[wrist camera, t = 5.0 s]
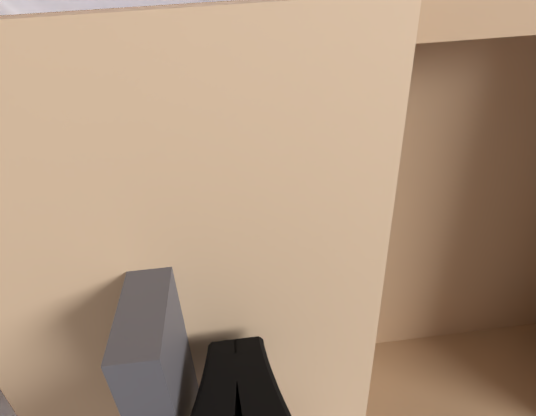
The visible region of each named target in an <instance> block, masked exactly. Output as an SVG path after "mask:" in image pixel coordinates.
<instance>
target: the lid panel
mask: <svg viewBox="0 0 536 416" xmlns="http://www.w3.org/2000/svg"><path fill="white" fill-rule="evenodd" d="M420 8H421V0H233V1H218V2H202V3H187V4H171V5H156V6H140V7H125V8H109V9H94V10H78V11H63V12H47V13H32V14H16V15H1V16H0V390H1V391H2V393H3V394H4V396H5V398H6V399H7V401H8V402H9V404H10V405H11V407H12V408H13V410H14V412H15V413H16V415H17V416H190V415H191V412H192V409H193V406H194V403H195V400H196V396H197V393H198V389H199V386H200V382H201V378H202V374H203V370H204V366H205V361H206V356H207V349H208V345H209V344H210V343H211V342H215V341H223V340H231V339H240V338H248V337H256V336H259V337H261V338H262V339H263V341H264V346H265V350H266V353H267V357H268V360H269V363H270V366H271V369H272V372H273V374H274V377H275V379H276V382H277V385H278V387H279V389H280V392H281V394H282V396H283V399H284V401H285V403H286V405H287V407H288V409H289V411H290V414H291V416H366V410H367V403H368V395H369V388H370V380H371V373H372V366H373V358H374V351H375V343H376V336H377V328H378V321H379V313H380V306H381V298H382V291H383V284H384V276H385V269H386V261H387V254H388V246H389V239H390V231H391V224H392V216H393V209H394V202H395V194H396V187H397V179H398V172H399V164H400V157H401V149H402V142H403V134H404V127H405V120H406V112H407V105H408V97H409V90H410V82H411V75H412V67H413V60H414V52H415V45H416V38H417V30H418V23H419V15H420Z"/></svg>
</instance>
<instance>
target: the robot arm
mask: <svg viewBox="0 0 536 416" xmlns="http://www.w3.org/2000/svg"><path fill="white" fill-rule="evenodd" d="M190 416H291V414H290V411H289V409H288V407H287V405H286V403H285V401H284V399H283V396H282V394H281V392H280V389H279V387H278V385H277V382H276V379H275V377H274V374H273V372H272V369H271V366H270V363H269V360H268V357H267V353H266V350H265V346H264V341H263V339H262V338H261V337H259V336H256V337H248V338H240V339H231V340H223V341H215V342H211V343H210V344H209V345H208V349H207V356H206V361H205V366H204V370H203V374H202V378H201V382H200V386H199V389H198V393H197V396H196V400H195V403H194V406H193V409H192V412H191V415H190Z"/></svg>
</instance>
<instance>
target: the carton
mask: <svg viewBox="0 0 536 416" xmlns="http://www.w3.org/2000/svg"><path fill="white" fill-rule="evenodd" d="M366 416H536V0H421V8H420V15H419V23H418V30H417V38H416V45H415V52H414V60H413V67H412V75H411V82H410V90H409V97H408V105H407V112H406V120H405V127H404V134H403V142H402V149H401V157H400V164H399V172H398V179H397V187H396V194H395V202H394V209H393V216H392V224H391V231H390V239H389V246H388V254H387V261H386V269H385V276H384V284H383V291H382V298H381V306H380V313H379V321H378V328H377V336H376V343H375V351H374V358H373V366H372V373H371V380H370V388H369V395H368V403H367V410H366Z"/></svg>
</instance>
